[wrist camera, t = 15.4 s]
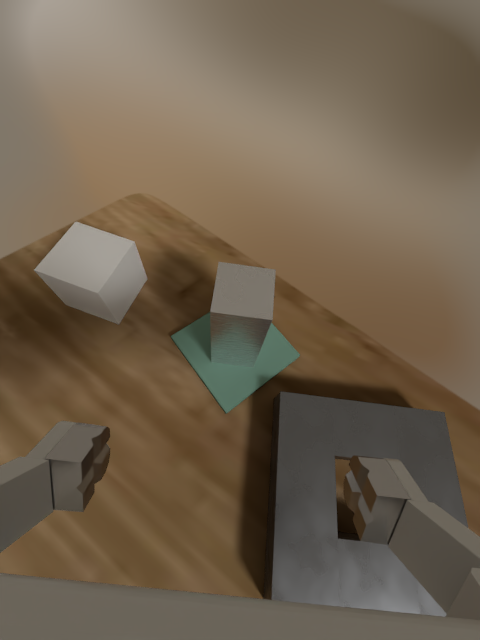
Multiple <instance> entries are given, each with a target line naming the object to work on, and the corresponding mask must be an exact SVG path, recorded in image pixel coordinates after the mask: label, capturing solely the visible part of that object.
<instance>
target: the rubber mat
mask: <svg viewBox="0 0 480 640" xmlns="http://www.w3.org/2000/svg"><path fill="white" fill-rule="evenodd" d="M171 338H172V340H173V341H174V343H175V344H176V345H177V347H178V348H179V350H180V351H181V352H182V354H183V355H184V356H185V358H186V359H187V361H188V362H189V363H190V365H191V366H192V368H193V369H194V370H195V372H196V373H197V374H198V376H199V377H200V379H201V380H202V381H203V383H204V384H205V386H206V387H207V388H208V390H209V391H210V392H211V394H212V395H213V397H214V398H215V399H216V401H217V402H218V404H219V405H220V406H221V408H222V409H223V410H224V412H225V413H226V414H227V413H228V412H229V411H230V410H232V409H233V408H234V407H236V406H237V405H238V404H239V403H241V402H242V401H243V400H244V399H246V398H247V397H248V396H250V395H251V394H252V393H253V392H255V391H256V390H257V389H259V388H260V387H261V386H262V385H264V384H265V383H266V382H268V381H269V380H270V379H271V378H273V377H274V376H275V375H277V374H278V373H279V372H280V371H282V370H283V369H284V368H285V367H287V366H288V365H289V364H291V363H292V362H293V361H294V360H296V359H297V358H298V357H299V356H300V354H299V353H298V352H297V351H296V350H295V349H294V348H293V346H292V345H291V344H290V343H289V342H288V341H287V340H286V339H285V337H284V336H283V335H282V334H281V333H280V332H279V331H278V330H277V328H276V327H275V326H274V325H273V324H272V323H271V325H270V327H269V330H268V332H267V335H266V337H265V340H264V342H263V345H262V347H261V350H260V352H259V355H258V357H257V360H256V362H255V365H254V367H245V366H237V365H229V364H221V363H214V362H211V326H210V312H209V313H207V314H206V315H204V316H203V317H201V318H199V319H198V320H196V321H194V322H193V323H191V324H190V325H188V326H186V327H185V328H183V329H182V330H180V331H178V332H177V333H175V334H174V335H172V336H171Z"/></svg>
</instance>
